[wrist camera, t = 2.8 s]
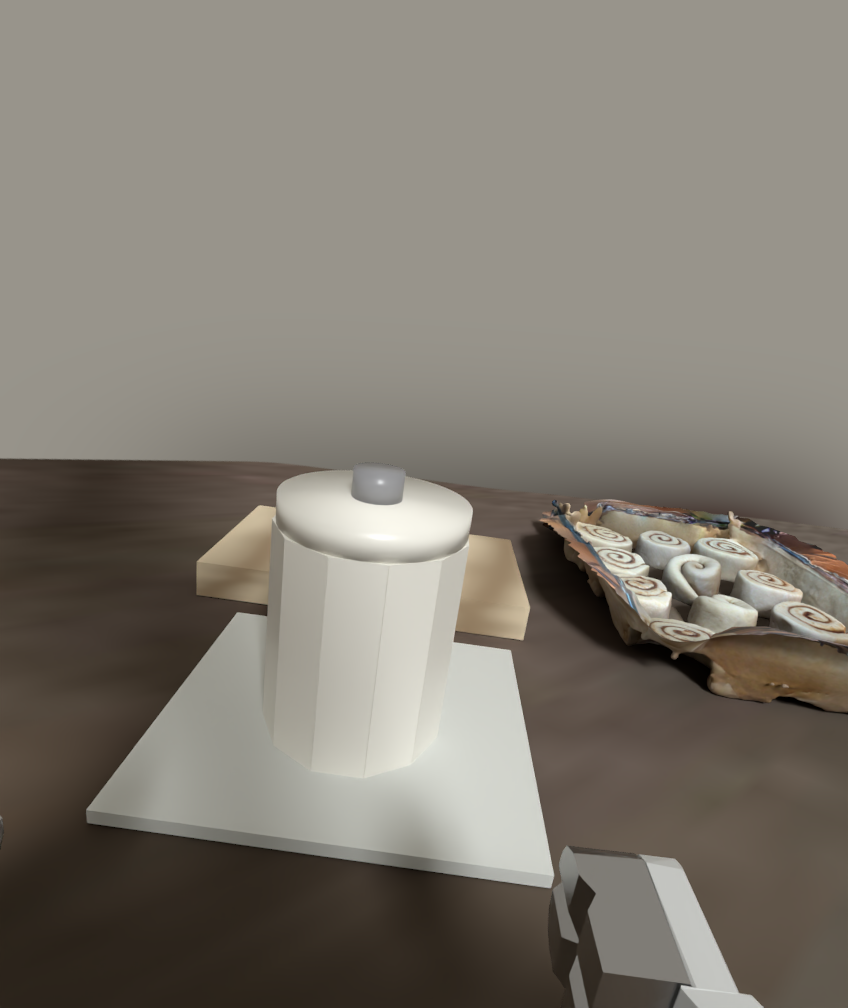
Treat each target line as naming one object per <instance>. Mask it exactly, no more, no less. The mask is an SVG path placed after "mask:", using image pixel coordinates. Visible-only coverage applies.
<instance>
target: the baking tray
mask: <svg viewBox="0 0 848 1008" xmlns="http://www.w3.org/2000/svg"><path fill="white" fill-rule="evenodd" d="M552 504H553V506H555V507H557V509H554V510H552V511H550V512H544V513H543V517H544V518H543V519H541V520H539V521H543V522H544V524H543V525H544V526H546V527H547V528H549V529H551V530H552V531H554V532H555V533H556V534H558V535H560V536H562V537H565V541H564V553H565V557H566V559H567V560H569V561H571V562H573V563H576V564H577V566H578V567H579V569H580V570H581V571H586V573H587V574H588V576H589V579H588V580H587V582H588V583H589V584H590V587H591V588H592V590H593V592H594V594H595V595H596V596H597V597H602V598H603V597H604V595H605V596H606V600H607V602H608V605H609V609H610V612H611V617H612V620H613V624H614V626H615V627H616V629H617V630H618V632H619V634H620V637H621V638H622V639H623V641H624V642H625V643H626V645H628V646H631V645H634V644H646V643H654V644H657V645H661V646H664V647H667V648H669V649H671V650H672V651H673V653H672V655H671V658H672V659H677V658H678V655H679V654H680V653H682V654H685V655H687V656H689V657H692V658H694V659H695V660H697V661H698V662H700V663H702V664H703V665H705V666H707V667H708V668H710V669H711V671H710V675H709V676H708V678H707V686H708V689H709V690H710V691H711V692H713V693H715V694H717V695H721V696H724V697H728V698H738V699H742V700H755V701H759V702H766V703H771V701H772V699H775V698H776V697H778V696H782V697H794V698H796V699H797V700H800V701H804V702H807V703H811V704H813V705H814V706H817V707H820V708H822V709H823V710H825V711H834V712H846V713H848V565H847V564H845V563H844V562H843V561H839V560H837V559H836V556H834V555H833V554H831V553H829V552H823V551H822V549H821V548H819V547H817V546H816V545H813V544H808V543H804V542H800V541H798V539H797V538H796V537H795V536H792V535H789V534H786V533H783V532H780V531H777V530H775V529H772V528H769V527H765V526H760V525H758V524H756V523H755V522H753V521H752V520H750V519H747V518H739V516H733V515H734V514H733V512H731V511H730V512H728V515H727V516H726V515H722V514H720V515H712V514H709V513H707V512H702V511H700V512H696V511H690V510H687V509H686V510H683V509H681V508H666V507H663V508H661V507H656V506H655V507H653V506H645V505H637V504H632V503H628V502H624V501H619V500H611V499H610V500H594V501H588V502H585V503H584V505H585V506H584V507H583V509H581V510H580V511H575V512H573V513H570V512H569V508H570V504H569V503H566V504H564V505H562V503H560V504H558V502H557V501H556V500H554V501H552ZM632 548H635V551H634V553H632ZM649 566H651V567H654V568H657V569H661V570H664V571H663V576H662V580H661V581H660V580H657V579H654V578H649V577H647V576H648V573H649ZM720 580H725V581H731V582H734V585H733V589H732V592H731V593H730V595H729V596H725V595H720V594H719V587H720ZM718 594H719V595H718ZM672 598H674V599H676V600H678V601H681V602H683V603H685V604H688V605H691V606H692V607H691V610H690V612H689V614H688V618H687V622H688V623H686V622H684V621H683V619H682V617H681V616H680V613H679V612H678V610H676V609H675V607H673V606H671V600H672ZM758 616H759V617H763V618H767V619H770V624H769V627H766V626H756V624H757V618H758Z"/></svg>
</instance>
